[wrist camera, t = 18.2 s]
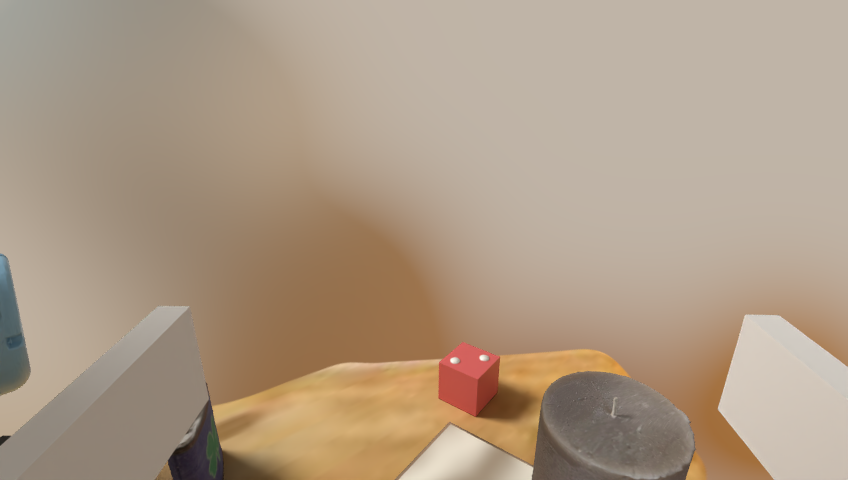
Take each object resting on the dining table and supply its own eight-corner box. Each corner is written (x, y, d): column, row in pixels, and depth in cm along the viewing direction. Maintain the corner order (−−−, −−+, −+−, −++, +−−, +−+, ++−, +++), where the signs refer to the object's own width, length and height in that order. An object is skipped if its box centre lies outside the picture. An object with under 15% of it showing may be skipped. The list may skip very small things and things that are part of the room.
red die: (438, 398, 54) (439, 361, 52) (461, 376, 58) (462, 341, 56) (475, 416, 51) (477, 378, 49) (497, 392, 55) (499, 356, 53)
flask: (197, 451, 47) (176, 362, 43) (228, 444, 47) (211, 357, 43) (181, 535, 38) (154, 435, 34) (219, 526, 39) (197, 427, 35)
